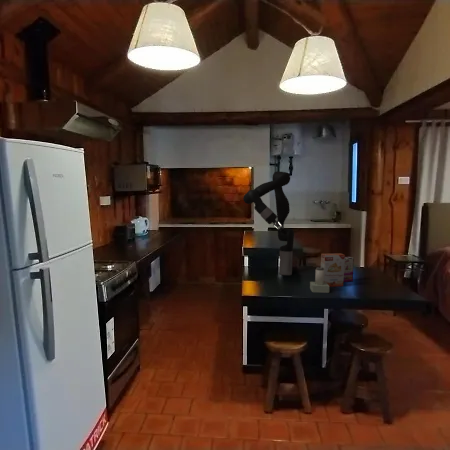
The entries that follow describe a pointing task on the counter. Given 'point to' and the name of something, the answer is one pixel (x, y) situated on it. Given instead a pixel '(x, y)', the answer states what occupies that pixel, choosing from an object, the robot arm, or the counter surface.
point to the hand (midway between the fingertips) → (285, 233)
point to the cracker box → (333, 269)
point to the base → (319, 287)
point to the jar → (319, 276)
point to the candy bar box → (348, 269)
